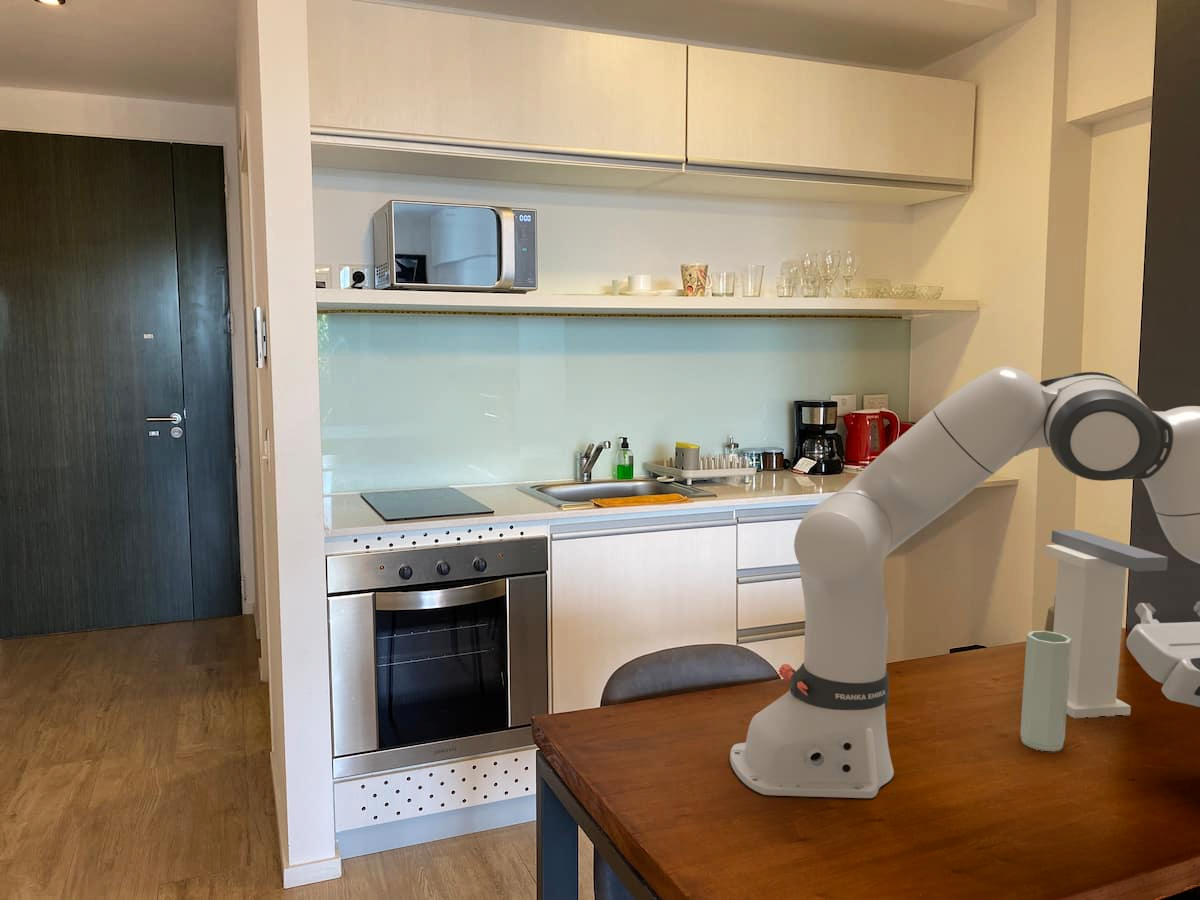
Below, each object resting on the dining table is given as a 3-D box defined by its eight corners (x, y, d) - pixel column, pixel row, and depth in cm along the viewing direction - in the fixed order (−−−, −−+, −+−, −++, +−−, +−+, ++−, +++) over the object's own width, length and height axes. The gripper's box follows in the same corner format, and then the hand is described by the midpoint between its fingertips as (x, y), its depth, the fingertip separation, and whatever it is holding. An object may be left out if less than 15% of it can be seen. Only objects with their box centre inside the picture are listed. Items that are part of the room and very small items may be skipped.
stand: (1073, 718, 146) (1085, 559, 143) (1035, 694, 156) (1045, 545, 153) (1130, 715, 148) (1142, 557, 144) (1088, 691, 157) (1099, 543, 154)
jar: (1036, 753, 133) (1043, 643, 131) (1013, 736, 139) (1019, 631, 137) (1071, 751, 134) (1079, 642, 132) (1047, 734, 140) (1054, 630, 138)
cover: (1136, 571, 136) (1137, 558, 135) (1051, 542, 155) (1052, 530, 155) (1166, 570, 136) (1168, 557, 136) (1078, 541, 156) (1078, 529, 156)
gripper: (1316, 662, 121) (1245, 587, 132) (1177, 668, 118) (1117, 591, 129) (1290, 693, 125) (1223, 617, 136) (1155, 699, 122) (1098, 622, 133)
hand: (1170, 604), depth 132 cm, fingers open, 8 cm apart
